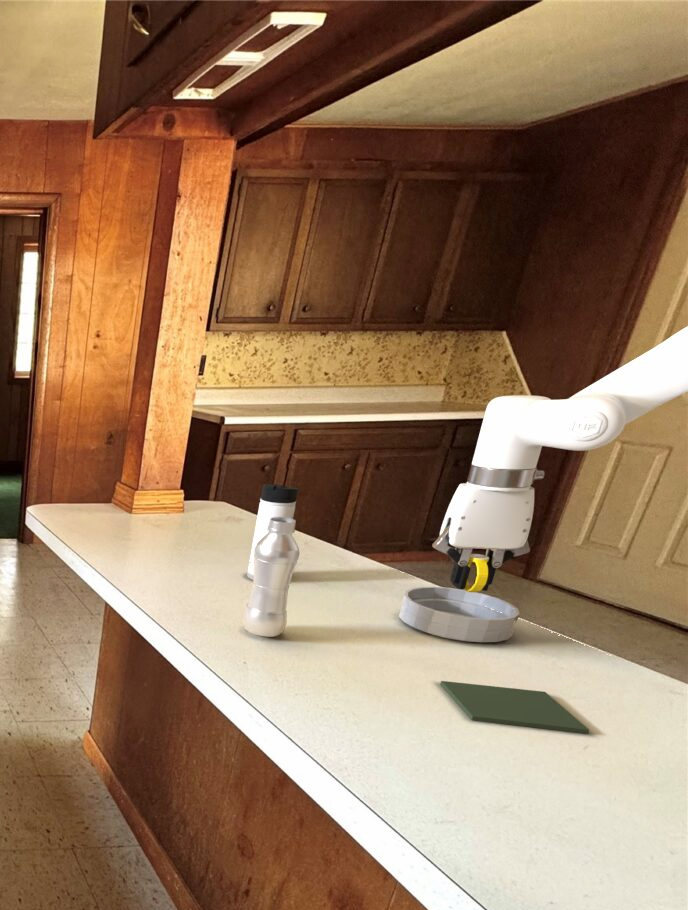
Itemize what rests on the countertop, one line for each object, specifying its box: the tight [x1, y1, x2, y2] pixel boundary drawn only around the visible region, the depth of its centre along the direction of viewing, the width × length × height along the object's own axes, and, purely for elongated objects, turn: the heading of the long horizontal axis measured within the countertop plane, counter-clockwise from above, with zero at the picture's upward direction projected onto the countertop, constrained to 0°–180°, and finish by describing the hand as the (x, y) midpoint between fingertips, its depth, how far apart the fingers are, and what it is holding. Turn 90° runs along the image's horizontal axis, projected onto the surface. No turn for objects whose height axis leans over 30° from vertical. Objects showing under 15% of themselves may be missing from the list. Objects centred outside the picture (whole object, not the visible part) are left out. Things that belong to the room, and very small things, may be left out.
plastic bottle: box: [242, 517, 300, 638], centre depth 110 cm, size 6×7×20 cm
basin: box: [398, 586, 520, 643], centre depth 113 cm, size 15×15×4 cm
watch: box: [463, 553, 489, 593], centre depth 109 cm, size 6×3×6 cm, turn 164°
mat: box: [439, 680, 590, 735], centre depth 89 cm, size 12×10×1 cm
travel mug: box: [246, 483, 299, 581], centre depth 134 cm, size 6×7×20 cm
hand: (469, 586), depth 110 cm, fingers closed on watch, 2 cm apart
